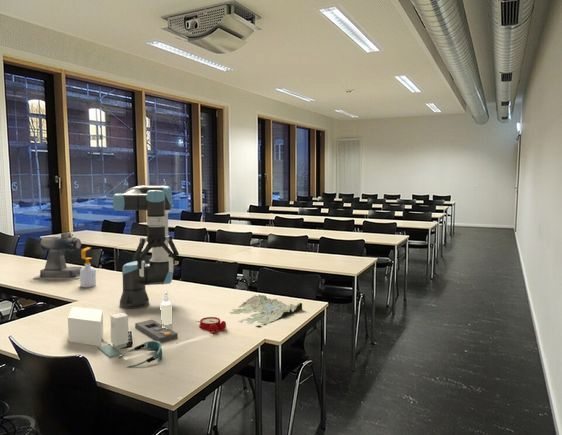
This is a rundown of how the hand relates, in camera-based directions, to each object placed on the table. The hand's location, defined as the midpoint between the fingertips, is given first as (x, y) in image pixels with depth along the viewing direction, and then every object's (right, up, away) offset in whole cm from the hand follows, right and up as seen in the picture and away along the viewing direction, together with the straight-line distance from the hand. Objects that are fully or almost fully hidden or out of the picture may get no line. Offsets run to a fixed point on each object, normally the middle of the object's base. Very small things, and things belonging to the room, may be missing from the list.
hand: (156, 274), depth 183 cm
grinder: (-99, -17, +109) cm, 148 cm away
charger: (-10, -27, -17) cm, 33 cm away
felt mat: (-10, -28, -17) cm, 34 cm away
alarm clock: (+23, -27, +7) cm, 36 cm away
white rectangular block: (-29, -27, -4) cm, 40 cm away
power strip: (-2, -26, +1) cm, 26 cm away
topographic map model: (+43, -25, +33) cm, 60 cm away
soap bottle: (-69, -19, +84) cm, 110 cm away
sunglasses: (+2, -29, -25) cm, 38 cm away
